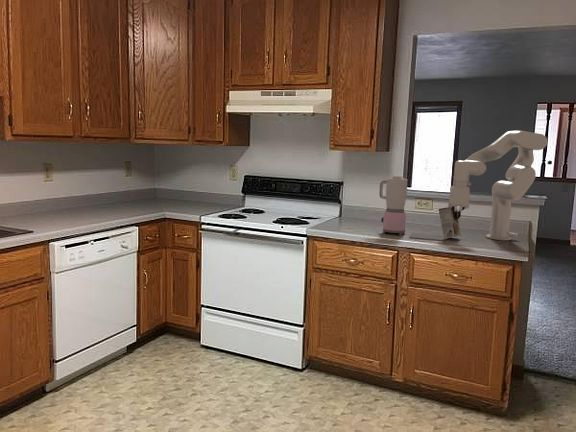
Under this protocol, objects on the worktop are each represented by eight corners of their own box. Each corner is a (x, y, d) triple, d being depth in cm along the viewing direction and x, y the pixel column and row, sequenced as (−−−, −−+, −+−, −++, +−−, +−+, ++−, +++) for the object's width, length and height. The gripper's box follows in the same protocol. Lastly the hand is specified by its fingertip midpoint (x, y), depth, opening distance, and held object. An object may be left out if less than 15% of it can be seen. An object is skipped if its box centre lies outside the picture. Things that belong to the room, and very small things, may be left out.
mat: (444, 236, 271) (445, 235, 271) (444, 241, 257) (444, 240, 257) (411, 233, 277) (411, 232, 276) (409, 237, 262) (409, 237, 262)
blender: (407, 232, 278) (411, 176, 273) (402, 236, 267) (406, 177, 262) (380, 229, 285) (383, 174, 280) (374, 232, 274) (377, 175, 269)
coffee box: (449, 237, 268) (444, 208, 270) (461, 235, 264) (455, 206, 266) (443, 238, 261) (437, 208, 262) (455, 236, 257) (449, 206, 258)
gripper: (475, 184, 259) (471, 219, 262) (445, 182, 263) (442, 216, 266) (476, 185, 252) (472, 220, 255) (445, 183, 256) (442, 218, 259)
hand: (457, 218), depth 260 cm, fingers closed
